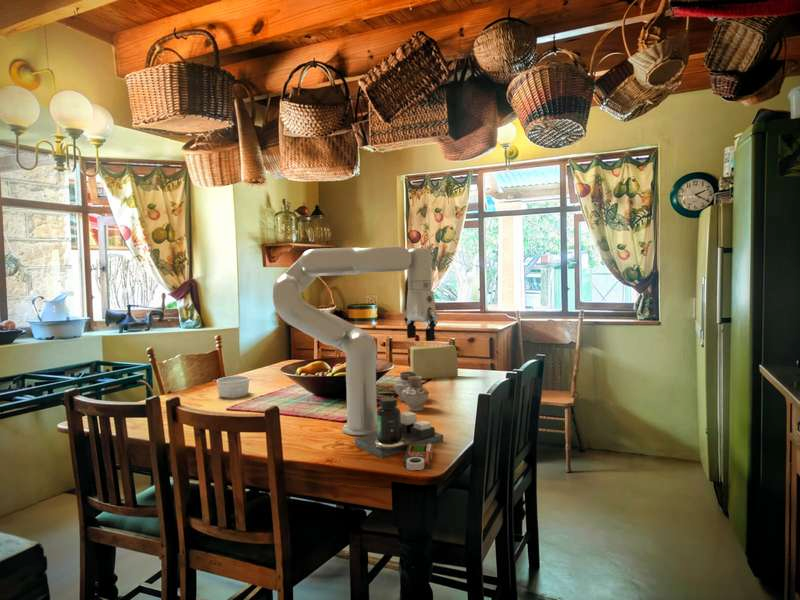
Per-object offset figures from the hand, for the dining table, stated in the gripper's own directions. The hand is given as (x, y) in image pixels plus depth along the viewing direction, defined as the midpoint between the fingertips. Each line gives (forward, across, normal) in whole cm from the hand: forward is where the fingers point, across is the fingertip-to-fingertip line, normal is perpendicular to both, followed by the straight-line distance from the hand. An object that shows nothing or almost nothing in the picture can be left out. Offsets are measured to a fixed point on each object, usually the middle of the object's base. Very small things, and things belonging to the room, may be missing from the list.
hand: (420, 339), depth 172 cm
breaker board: (+28, -10, +16) cm, 34 cm away
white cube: (+26, -14, +11) cm, 31 cm away
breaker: (+25, -7, +11) cm, 28 cm away
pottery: (+29, +24, -14) cm, 40 cm away
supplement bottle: (+26, -12, +22) cm, 36 cm away
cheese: (+29, +57, -52) cm, 83 cm away
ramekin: (+29, +84, +34) cm, 95 cm away
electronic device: (+29, -24, +21) cm, 43 cm away
